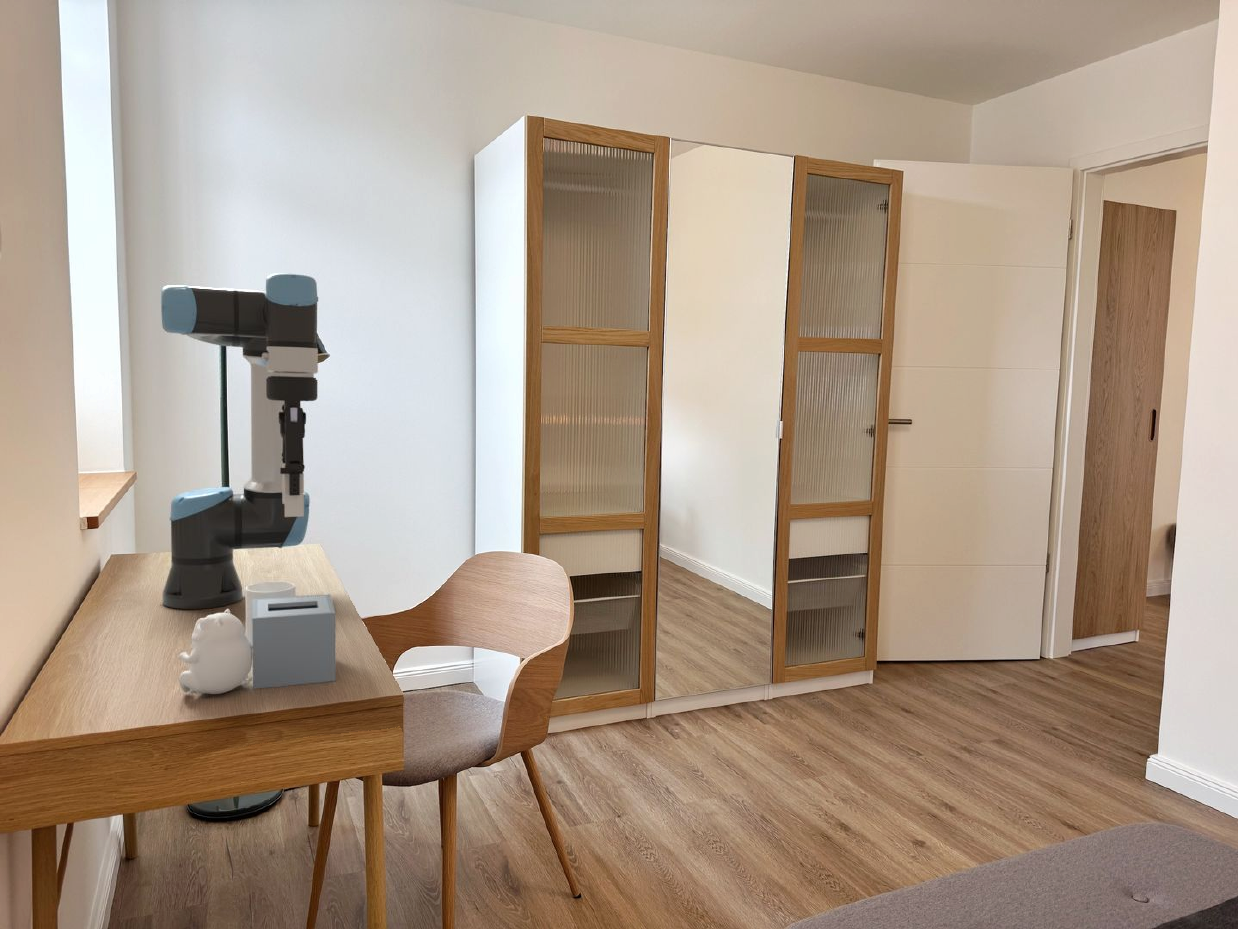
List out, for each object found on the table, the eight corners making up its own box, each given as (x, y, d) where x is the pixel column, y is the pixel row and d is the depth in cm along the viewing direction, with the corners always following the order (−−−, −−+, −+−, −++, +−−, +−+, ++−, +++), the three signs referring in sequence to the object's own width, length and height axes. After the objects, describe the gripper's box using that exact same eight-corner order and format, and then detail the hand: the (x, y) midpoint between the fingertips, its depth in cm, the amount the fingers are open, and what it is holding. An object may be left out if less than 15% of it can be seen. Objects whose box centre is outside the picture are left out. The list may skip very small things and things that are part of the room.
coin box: (253, 664, 144) (252, 599, 143) (329, 657, 148) (329, 594, 147) (253, 689, 133) (252, 618, 132) (335, 681, 137) (335, 612, 136)
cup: (243, 650, 151) (242, 593, 150) (250, 630, 162) (250, 577, 161) (294, 647, 153) (293, 591, 152) (298, 628, 165) (298, 575, 164)
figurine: (265, 680, 137) (264, 605, 136) (240, 703, 127) (239, 623, 126) (200, 678, 137) (199, 604, 135) (171, 701, 127) (169, 621, 126)
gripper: (265, 373, 146) (266, 499, 148) (266, 375, 123) (267, 523, 125) (312, 375, 149) (313, 498, 151) (322, 376, 126) (322, 521, 128)
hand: (292, 509), depth 138 cm, fingers open, 13 cm apart
